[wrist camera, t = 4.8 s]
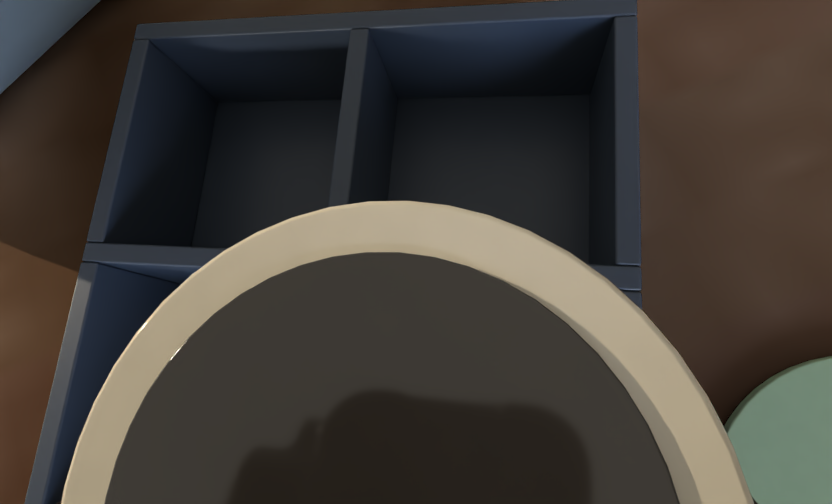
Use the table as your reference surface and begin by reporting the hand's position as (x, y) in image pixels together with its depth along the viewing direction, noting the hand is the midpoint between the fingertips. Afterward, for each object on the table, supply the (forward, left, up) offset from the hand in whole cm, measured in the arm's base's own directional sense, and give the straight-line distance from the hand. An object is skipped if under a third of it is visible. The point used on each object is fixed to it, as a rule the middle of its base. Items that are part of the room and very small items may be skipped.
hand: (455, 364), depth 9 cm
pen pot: (-1, -1, -6) cm, 7 cm away
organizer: (0, +4, -7) cm, 8 cm away
